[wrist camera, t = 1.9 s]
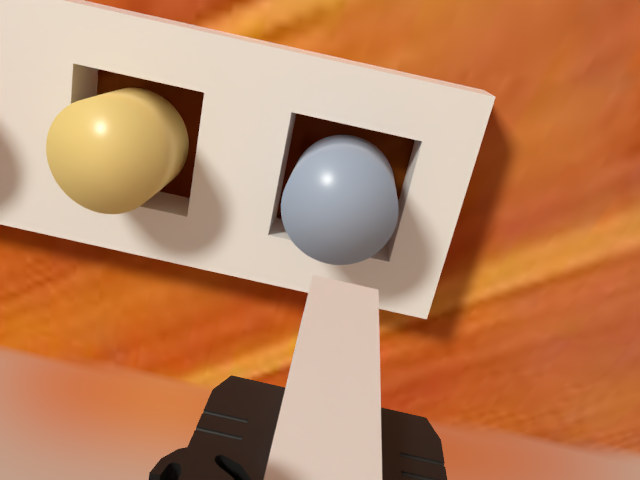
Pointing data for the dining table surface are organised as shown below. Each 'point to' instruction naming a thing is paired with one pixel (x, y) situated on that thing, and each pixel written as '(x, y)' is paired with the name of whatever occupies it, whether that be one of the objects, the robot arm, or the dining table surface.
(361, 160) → the blue button
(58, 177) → the mustard button
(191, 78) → the panel
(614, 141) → the dining table surface
